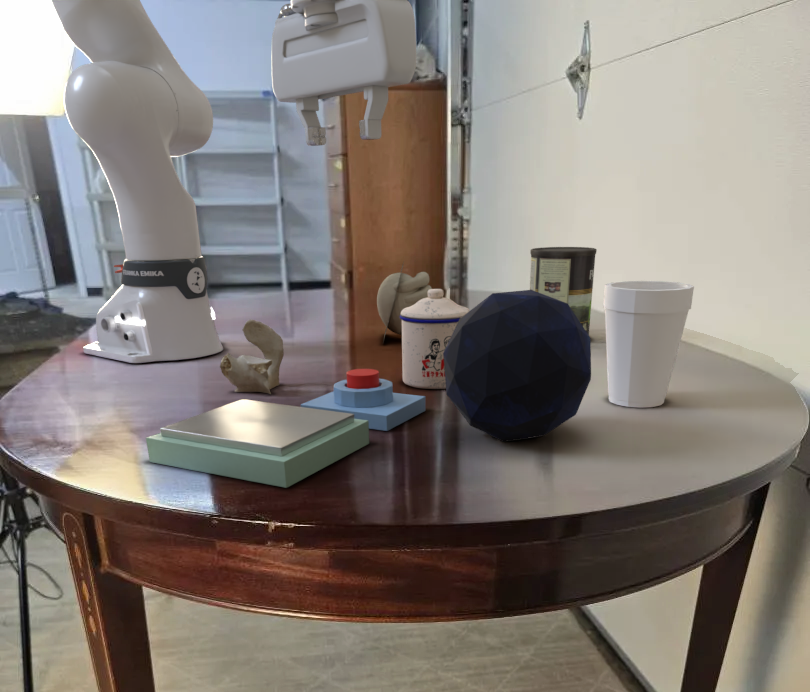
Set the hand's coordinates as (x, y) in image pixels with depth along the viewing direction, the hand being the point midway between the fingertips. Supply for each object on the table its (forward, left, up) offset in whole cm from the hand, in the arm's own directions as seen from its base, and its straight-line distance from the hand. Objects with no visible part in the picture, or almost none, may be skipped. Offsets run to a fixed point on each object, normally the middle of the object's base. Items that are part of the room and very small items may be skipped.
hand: (342, 142), depth 83 cm
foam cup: (+32, +12, -28) cm, 44 cm away
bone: (-12, -3, -28) cm, 31 cm away
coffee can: (+11, +47, -28) cm, 56 cm away
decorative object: (-12, +37, -28) cm, 48 cm away
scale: (+4, -23, -28) cm, 36 cm away
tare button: (+6, -7, -25) cm, 26 cm away
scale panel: (+6, -7, -28) cm, 29 cm away
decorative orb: (+24, -7, -28) cm, 37 cm away
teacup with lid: (+7, +12, -28) cm, 31 cm away
